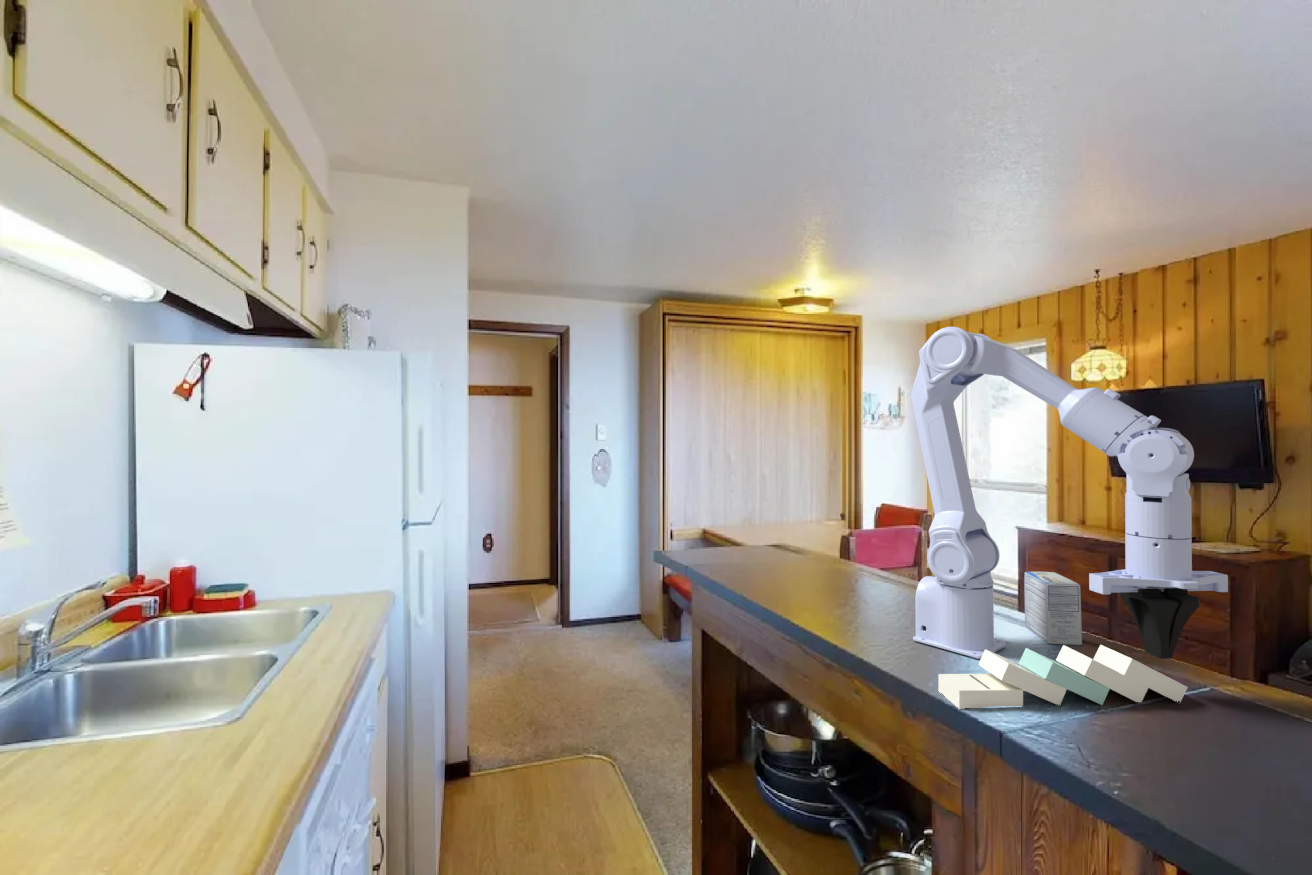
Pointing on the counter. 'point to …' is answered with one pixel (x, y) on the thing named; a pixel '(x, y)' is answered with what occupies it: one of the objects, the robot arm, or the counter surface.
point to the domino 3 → (1064, 676)
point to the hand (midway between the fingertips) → (1158, 655)
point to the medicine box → (1053, 608)
